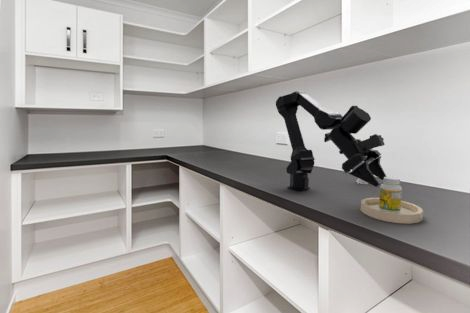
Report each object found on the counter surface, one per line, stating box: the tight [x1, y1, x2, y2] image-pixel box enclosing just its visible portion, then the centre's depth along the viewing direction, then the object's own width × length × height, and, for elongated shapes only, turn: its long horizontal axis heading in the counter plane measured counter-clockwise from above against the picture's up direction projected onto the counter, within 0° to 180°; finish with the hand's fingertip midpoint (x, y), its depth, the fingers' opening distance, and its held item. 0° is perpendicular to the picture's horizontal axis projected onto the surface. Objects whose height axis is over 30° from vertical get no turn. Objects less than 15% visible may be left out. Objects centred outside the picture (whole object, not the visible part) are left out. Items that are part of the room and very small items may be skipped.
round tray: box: [360, 197, 424, 225], centre depth 72 cm, size 15×15×2 cm
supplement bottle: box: [379, 176, 403, 213], centre depth 72 cm, size 5×5×10 cm
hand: (382, 182), depth 73 cm, fingers open, 9 cm apart
